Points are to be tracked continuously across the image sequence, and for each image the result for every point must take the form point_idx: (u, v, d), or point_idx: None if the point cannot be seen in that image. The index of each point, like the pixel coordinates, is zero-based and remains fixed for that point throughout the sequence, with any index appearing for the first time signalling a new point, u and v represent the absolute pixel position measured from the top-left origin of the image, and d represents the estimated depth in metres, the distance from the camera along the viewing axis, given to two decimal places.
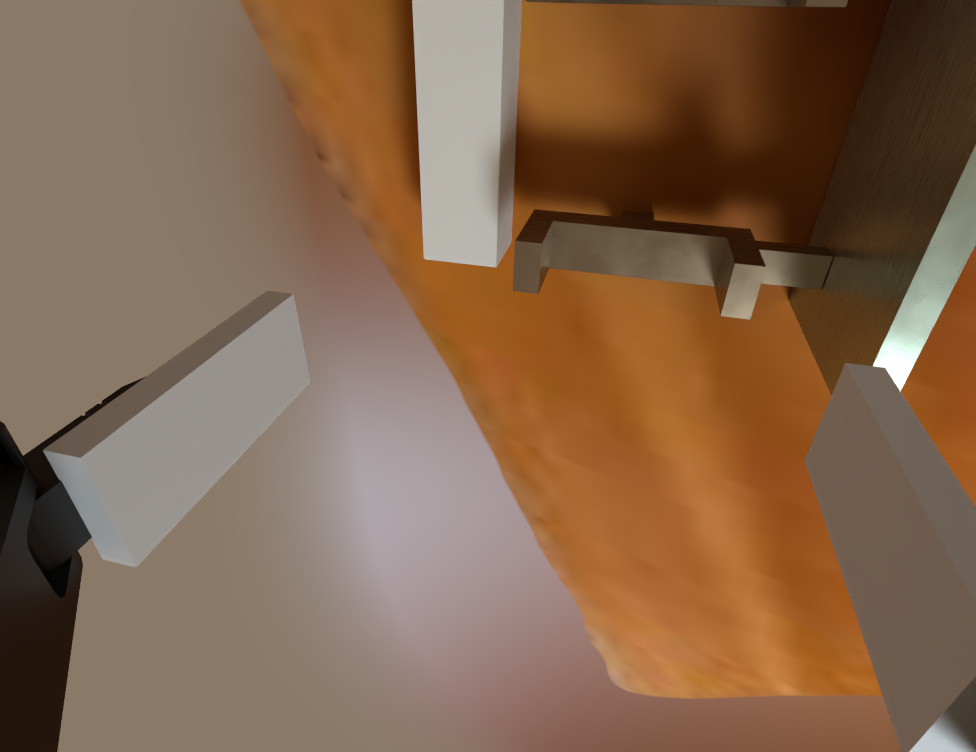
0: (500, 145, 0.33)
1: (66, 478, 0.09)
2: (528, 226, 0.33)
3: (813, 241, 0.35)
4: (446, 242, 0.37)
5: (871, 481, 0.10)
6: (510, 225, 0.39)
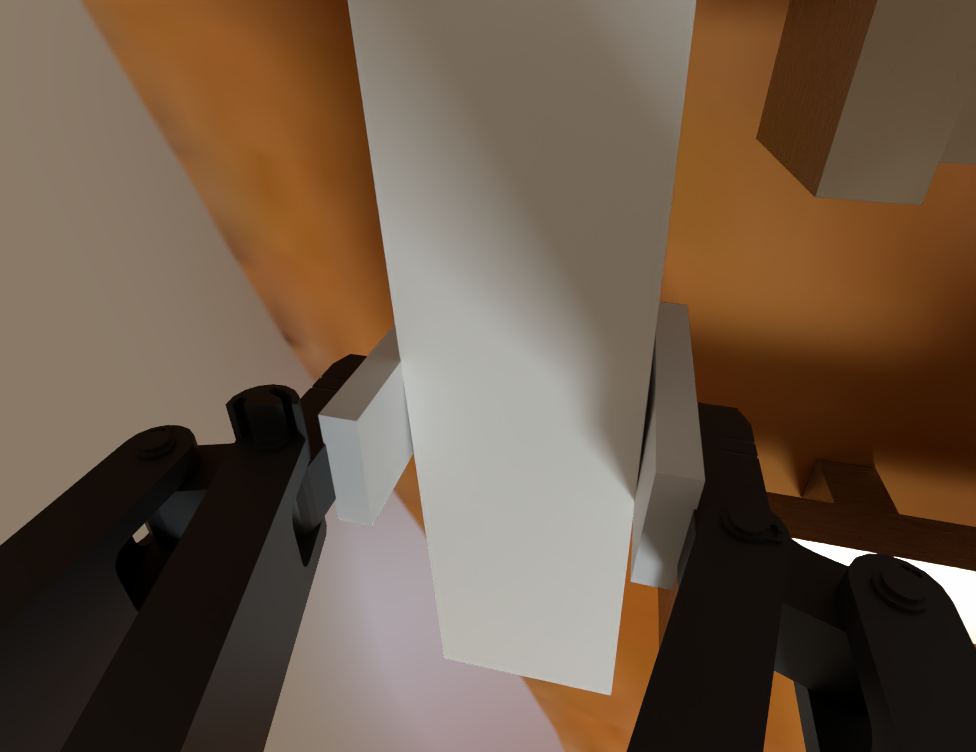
0: (634, 494, 0.12)
1: (333, 441, 0.10)
2: None
3: None
4: (493, 643, 0.16)
5: (650, 387, 0.12)
6: None
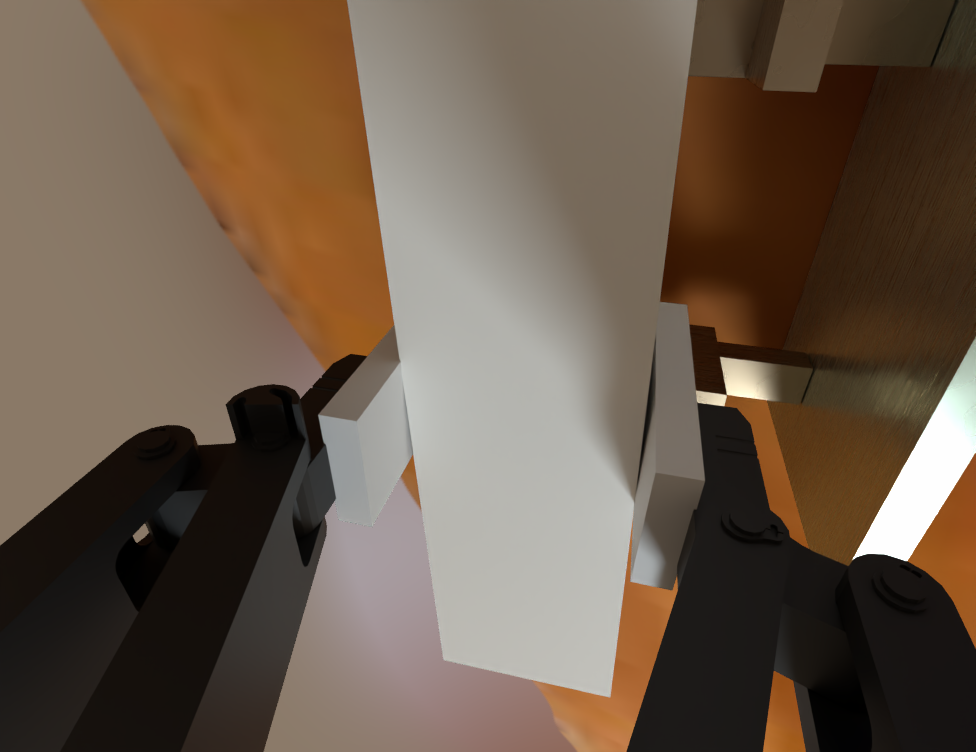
0: None
1: (333, 441, 0.10)
2: None
3: (792, 336, 0.29)
4: (492, 645, 0.16)
5: (649, 387, 0.12)
6: None
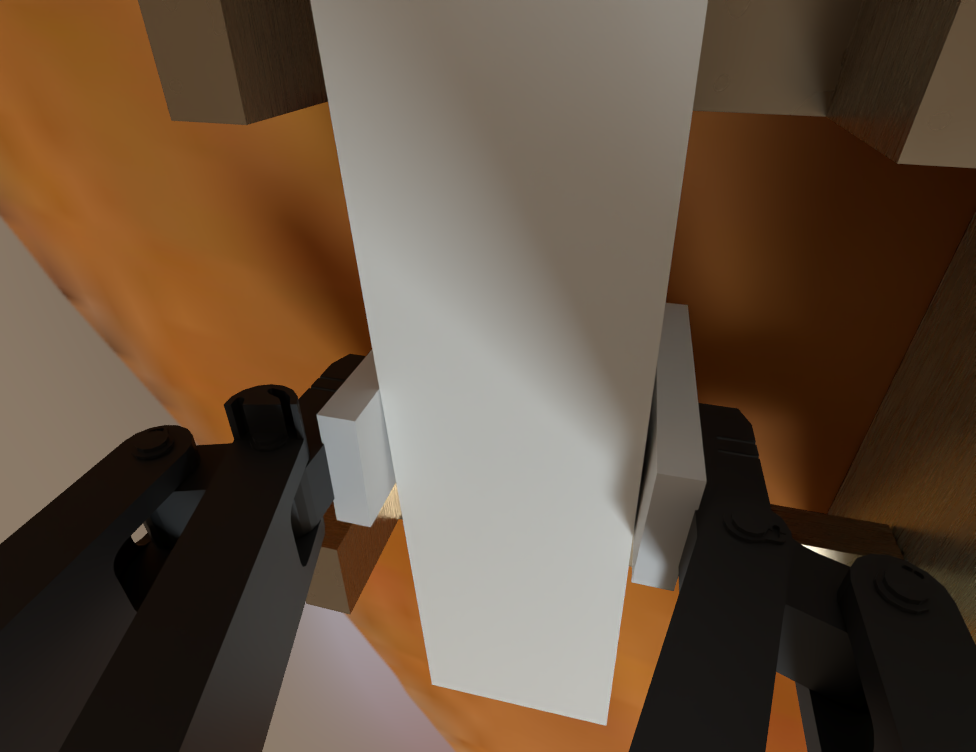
0: None
1: (331, 441, 0.10)
2: None
3: (858, 479, 0.20)
4: (483, 672, 0.15)
5: None
6: None
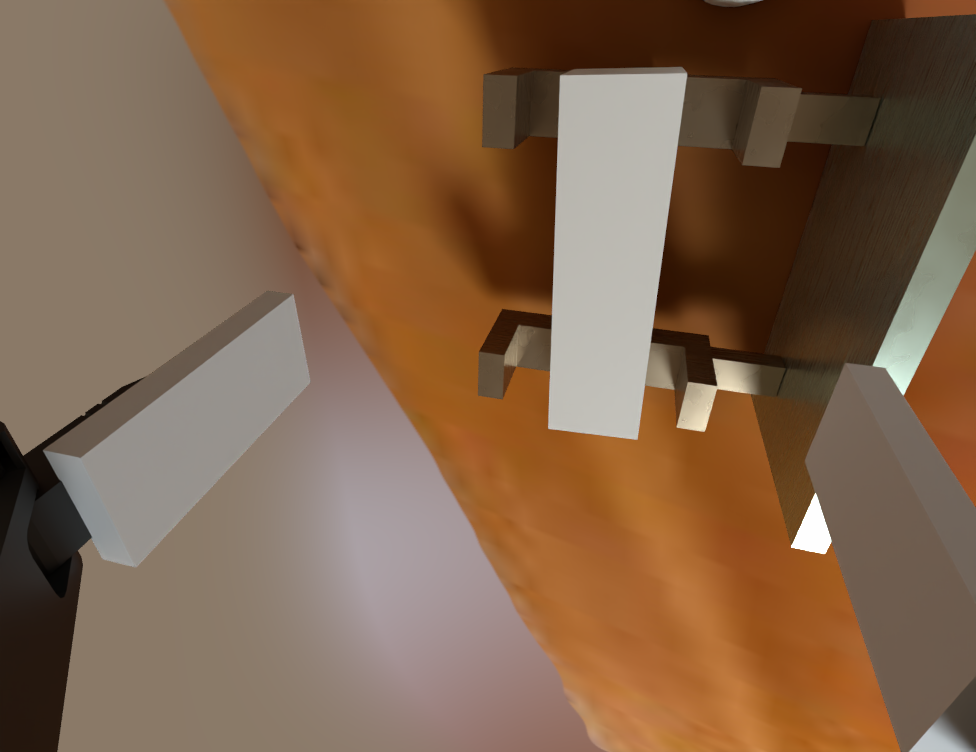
0: (653, 315, 0.28)
1: (66, 478, 0.09)
2: (494, 332, 0.34)
3: (771, 344, 0.36)
4: (577, 413, 0.31)
5: (871, 481, 0.10)
6: None
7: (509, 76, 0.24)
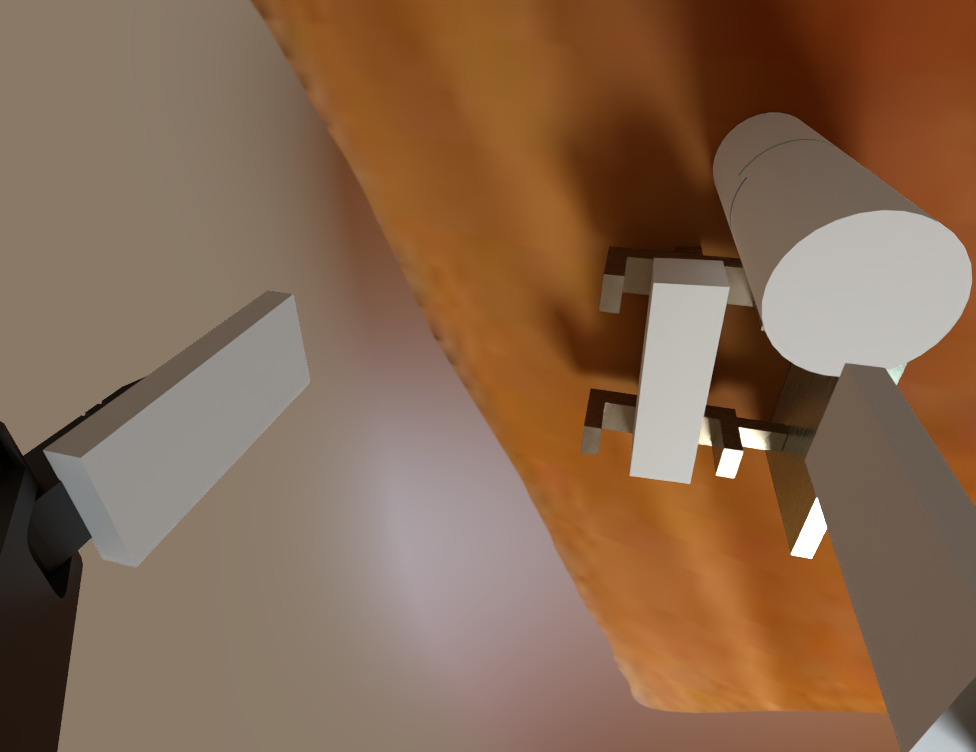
0: None
1: (66, 478, 0.09)
2: (590, 409, 0.51)
3: (777, 412, 0.52)
4: (650, 467, 0.48)
5: (872, 481, 0.10)
6: None
7: (620, 276, 0.41)
